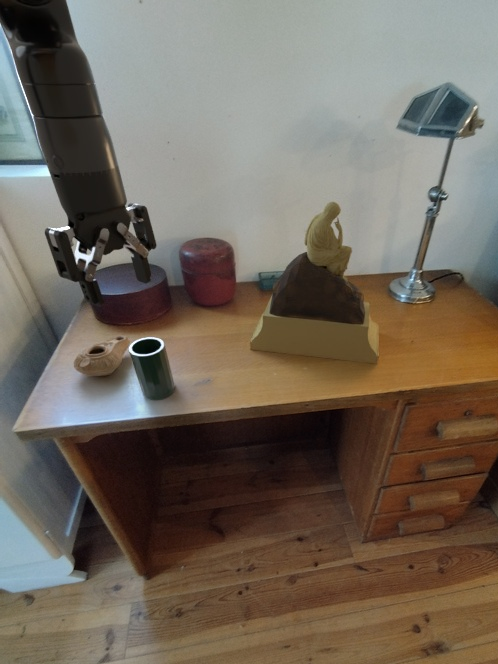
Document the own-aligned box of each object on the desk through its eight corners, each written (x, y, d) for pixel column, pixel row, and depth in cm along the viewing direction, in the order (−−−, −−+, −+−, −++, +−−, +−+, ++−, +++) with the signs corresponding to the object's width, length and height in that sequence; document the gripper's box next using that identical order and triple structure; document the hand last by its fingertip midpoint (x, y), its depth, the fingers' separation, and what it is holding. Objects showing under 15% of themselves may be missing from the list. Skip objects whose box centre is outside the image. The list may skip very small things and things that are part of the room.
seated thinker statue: (377, 332, 92) (403, 195, 72) (377, 363, 82) (407, 215, 62) (263, 320, 94) (258, 185, 74) (250, 349, 85) (240, 202, 65)
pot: (144, 403, 71) (130, 359, 64) (141, 384, 75) (127, 340, 68) (177, 395, 73) (166, 352, 66) (172, 377, 77) (161, 334, 70)
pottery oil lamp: (146, 351, 82) (140, 335, 76) (109, 395, 77) (99, 381, 71) (111, 331, 82) (102, 312, 76) (72, 373, 78) (59, 357, 71)
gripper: (109, 150, 50) (140, 269, 61) (2, 168, 41) (60, 306, 52) (151, 157, 48) (176, 280, 59) (47, 178, 38) (99, 320, 49)
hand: (122, 292), depth 55 cm, fingers open, 8 cm apart
